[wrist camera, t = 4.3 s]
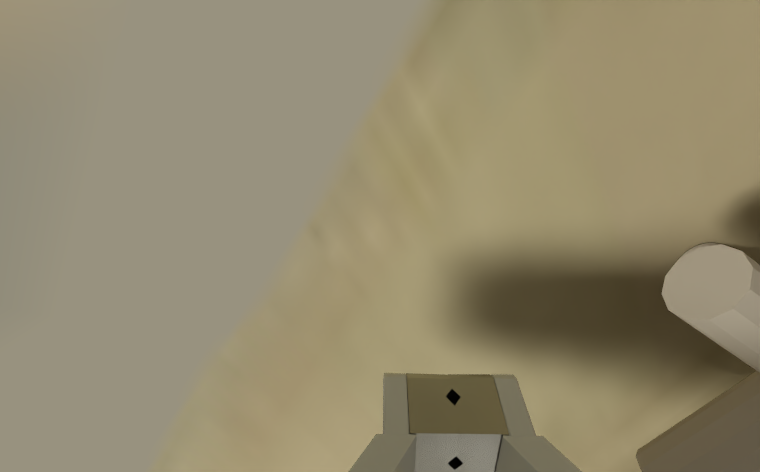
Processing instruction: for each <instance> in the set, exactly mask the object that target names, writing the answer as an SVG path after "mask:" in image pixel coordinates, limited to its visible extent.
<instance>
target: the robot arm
mask: <svg viewBox="0 0 760 472" xmlns="http://www.w3.org/2000/svg"><path fill="white" fill-rule="evenodd" d="M349 472H582V471H580V470H579V469H578V468H577V467H576V466H575V465H574V464H573V463H572V462H571V461H570V460H568V459H567V458H566V457H565V456H564V455H563V454H562V453H561V452H560V451H559V450H558V449H556V448H555V447H554V446H553V445H552V444H551V443H550V442H549V441H548V440H547V439H546V438H544V437H543V436H536V434H535V431H534V428H533V425H532V422H531V419H530V416H529V413H528V411H527V408H526V405H525V402H524V399H523V396H522V393H521V390H520V387H519V384H518V381H517V378H516V377H515V376H514V375H490V374H448V375H439V374H411V373H406V374H400V373H384V378H383V434H376V435H375V437H374V438H373V439H372V441H371V442H370V443H369V445H368V446H367V447H366V449H365V450H364V452H363V453H362V454H361V456H360V457H359V458H358V460H357V461H356V462H355V464H354V465H353V466H352V468H351V469H350V470H349Z"/></svg>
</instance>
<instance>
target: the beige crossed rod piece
mask: <svg viewBox="0 0 760 472" xmlns="http://www.w3.org/2000/svg"><path fill="white" fill-rule="evenodd" d="M662 296H663V299H664V301H665V303H666V306H667V308H668V310H669V311H670V312H672V313H673V314H675V315H676V316H678V317H679V318H681V319H682V320H684V321H685V322H686V323H688V324H689V325H691V326H692V327H694V328H695V329H697V330H698V331H700V332H701V333H702V334H704V335H705V336H707V337H708V338H710V339H711V340H713V341H714V342H716V343H717V344H718V345H720V346H721V347H723V348H724V349H726V350H727V351H729V352H730V353H732V354H733V355H734V356H736V357H737V358H739V359H740V360H742V361H743V362H745V363H746V364H748V365H749V366H751V367H752V368H753V369H755V370H756V371H755V372H754V373H752V374H751V375H749V376H748V377H746V378H745V379H743V380H742V381H740V382H739V383H737V384H736V385H734V386H733V387H731V388H730V389H728V390H727V391H725V392H724V393H722V394H721V395H719V396H718V397H716V398H715V399H713V400H712V401H710V402H709V403H707V404H706V405H704V406H703V407H701V408H700V409H698V410H697V411H695V412H694V413H692V414H691V415H689V416H688V417H686V418H685V419H683V420H682V421H680V422H679V423H677V424H676V425H674V426H673V427H671V428H670V429H668V430H667V431H665V432H664V433H662V434H661V435H659V436H658V437H656V438H655V439H653V440H652V441H650V442H649V443H647V444H646V445H644V446H643V447H641V448H640V449H638V451H637V454H636V458H637V461H638V463H639V466H640V469H641V470H642V472H760V265H759V264H758V263H757V262H755V261H754V260H753V259H751V258H750V257H749V256H748V255H746V254H745V253H744V252H743V251H740V250H737V249H735V248H732V247H729V246H726V245H723V244H717V243H705V244H701V245H698V246H695V247H693V248H691V249H690V250H688V251H687V252H685V253H684V254H683V255H682V256H681V257H680V258H679V259H678V261H677V262H676V263H675V264H674V266H673V267H672V268H671V269H670V271H669V272H668V273H667V274H666V276H665V280H664V285H663V289H662Z"/></svg>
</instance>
